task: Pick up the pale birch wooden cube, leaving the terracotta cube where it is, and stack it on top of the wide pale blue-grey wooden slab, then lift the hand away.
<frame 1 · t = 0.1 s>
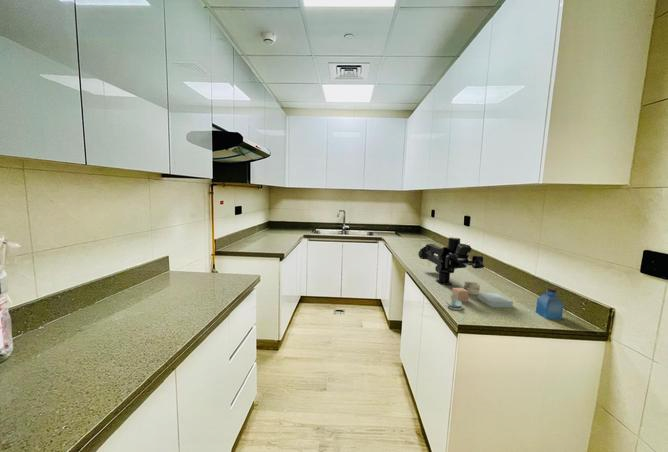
hand: (474, 266, 124), 17 cm above the counter, fingers open, 9 cm apart
birch cube: (471, 292, 137), on the counter
terracotta cube: (459, 299, 127), on the counter
perfume bottle: (548, 316, 113), on the counter
pacifier: (454, 308, 118), on the counter
blue-grey slab: (494, 303, 125), on the counter
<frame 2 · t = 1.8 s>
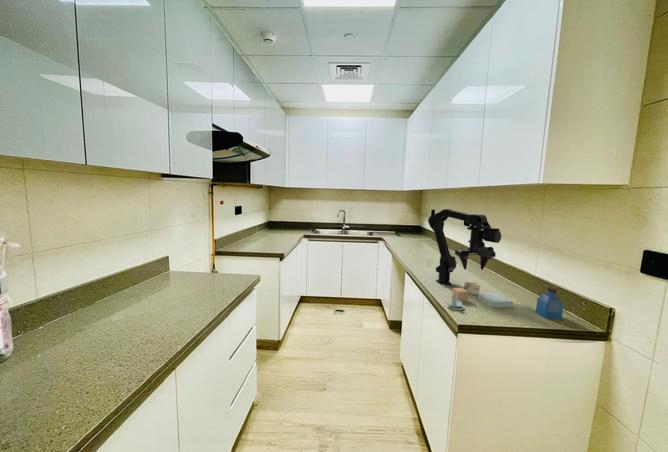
hand: (473, 269, 136), 12 cm above the counter, fingers open, 9 cm apart
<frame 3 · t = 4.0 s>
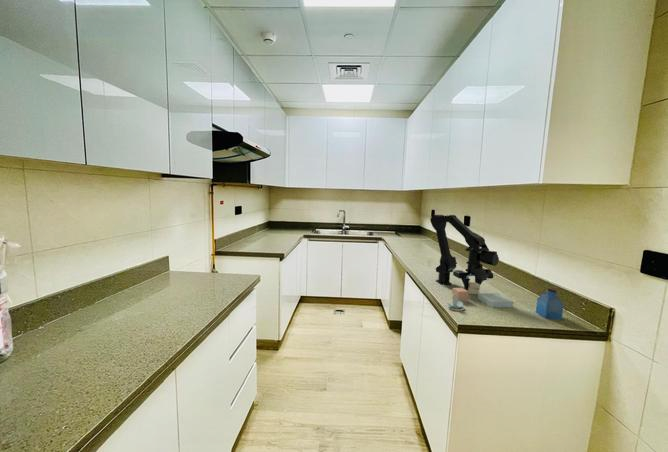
hand: (471, 290, 137), 1 cm above the counter, fingers closed on birch cube, 5 cm apart
birch cube: (471, 292, 137), on the counter, touching gripper
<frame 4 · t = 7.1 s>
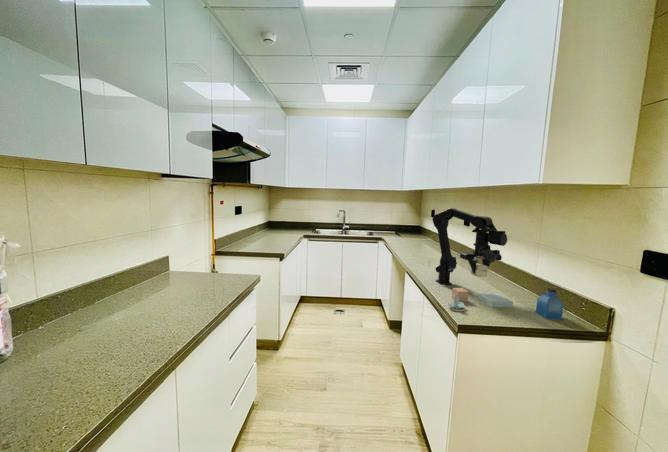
hand: (479, 273, 133), 11 cm above the counter, fingers closed on birch cube, 5 cm apart
birch cube: (478, 275, 133), point 10 cm above the counter, touching gripper
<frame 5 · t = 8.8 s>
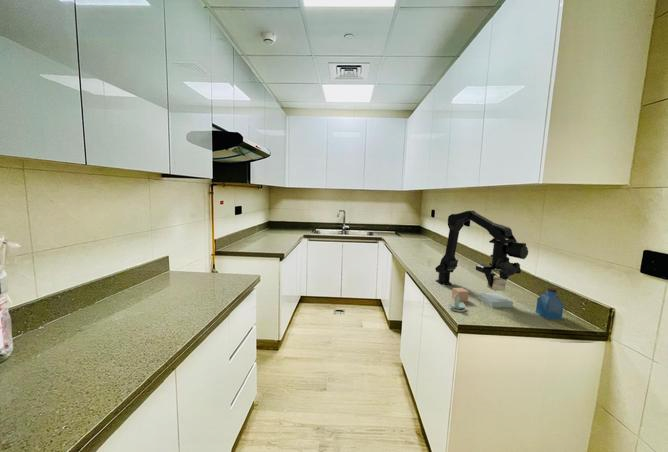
hand: (496, 286, 124), 8 cm above the counter, fingers closed on birch cube, 5 cm apart
birch cube: (495, 288, 124), point 7 cm above the counter, touching gripper
when the fingers open (5 cm above the counter, at t = 10.2 s): birch cube drops 2 cm, resting on blue-grey slab.
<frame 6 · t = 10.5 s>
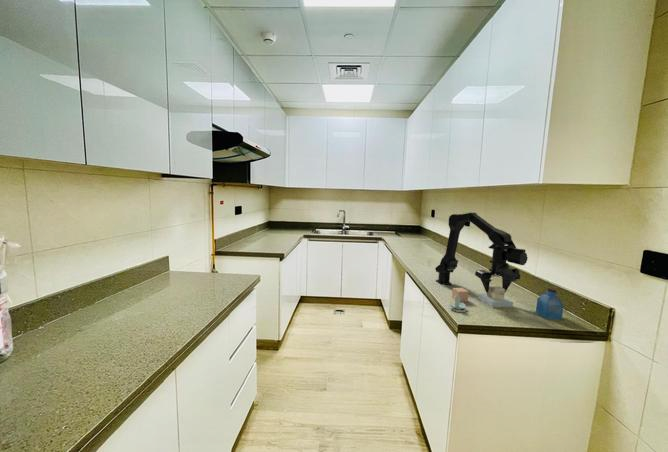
hand: (495, 292, 124), 5 cm above the counter, fingers open, 8 cm apart
birch cube: (494, 297, 125), point 2 cm above the counter, touching blue-grey slab
blue-grey slab: (494, 303, 125), on the counter, touching birch cube
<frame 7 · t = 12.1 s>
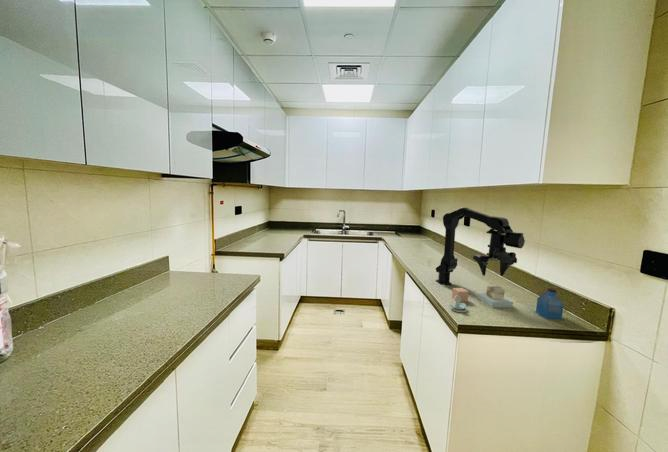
hand: (492, 275, 128), 12 cm above the counter, fingers open, 9 cm apart
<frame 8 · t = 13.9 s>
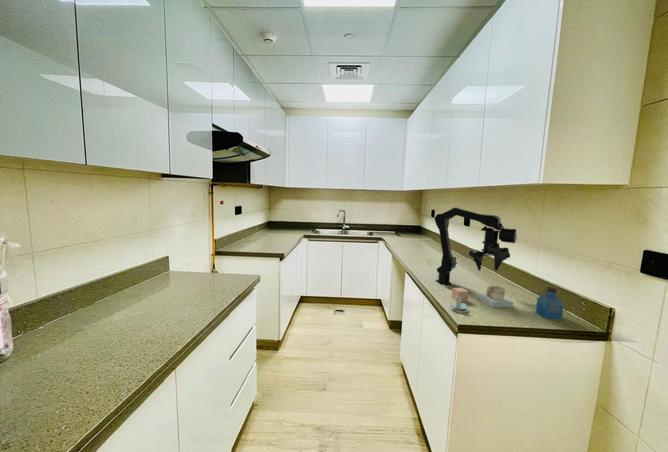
hand: (487, 270, 136), 12 cm above the counter, fingers open, 9 cm apart
at the end: birch cube 0.2 cm off-centre on the blue-grey slab, point 3.0 cm above the blue-grey slab's base; birch cube tilted 1°; the gripper is holding nothing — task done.
